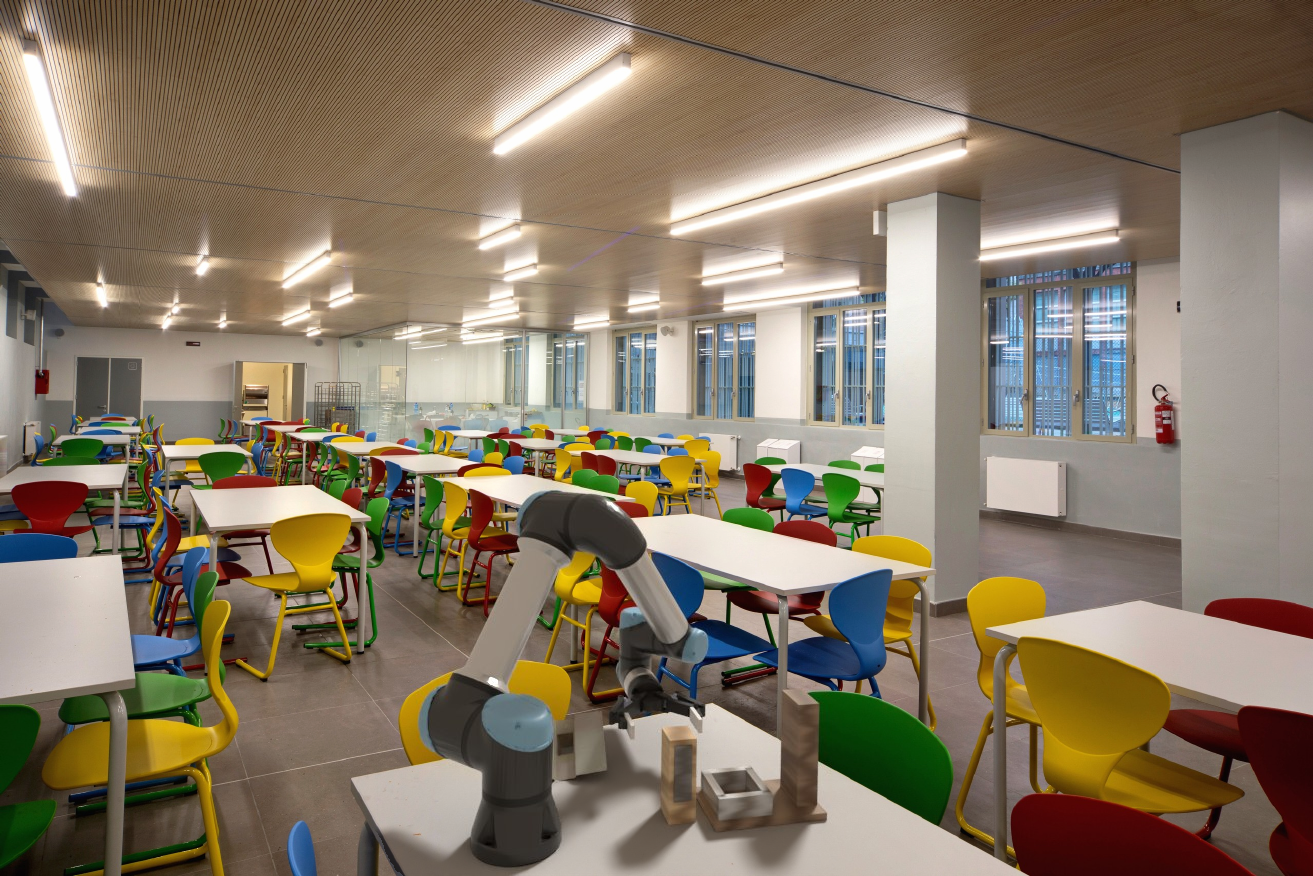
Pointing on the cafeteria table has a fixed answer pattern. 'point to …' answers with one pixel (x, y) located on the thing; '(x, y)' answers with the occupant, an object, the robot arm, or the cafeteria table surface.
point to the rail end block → (678, 774)
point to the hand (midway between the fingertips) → (667, 729)
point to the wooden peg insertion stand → (790, 799)
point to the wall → (578, 746)
